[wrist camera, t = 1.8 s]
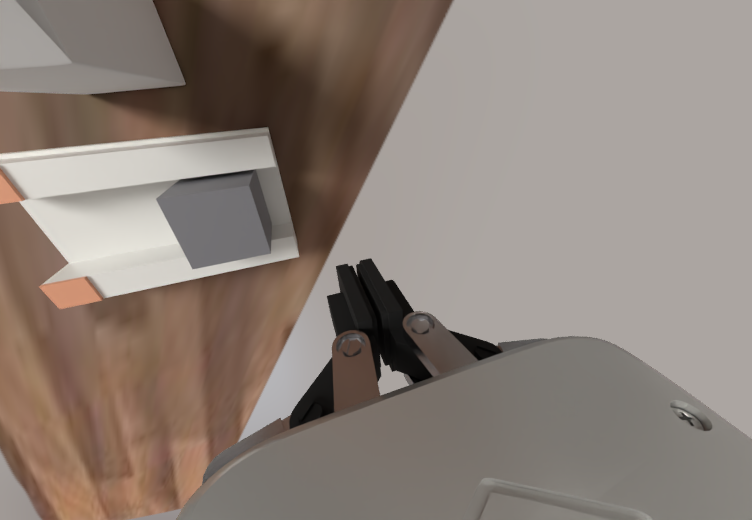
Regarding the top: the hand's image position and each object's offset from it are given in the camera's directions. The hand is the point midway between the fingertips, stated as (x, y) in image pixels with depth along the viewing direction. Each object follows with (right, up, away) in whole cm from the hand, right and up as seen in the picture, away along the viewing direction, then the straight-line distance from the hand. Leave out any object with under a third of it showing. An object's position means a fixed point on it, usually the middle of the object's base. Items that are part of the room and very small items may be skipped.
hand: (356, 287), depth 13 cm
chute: (-18, +6, +13) cm, 23 cm away
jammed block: (-13, +7, +13) cm, 20 cm away
